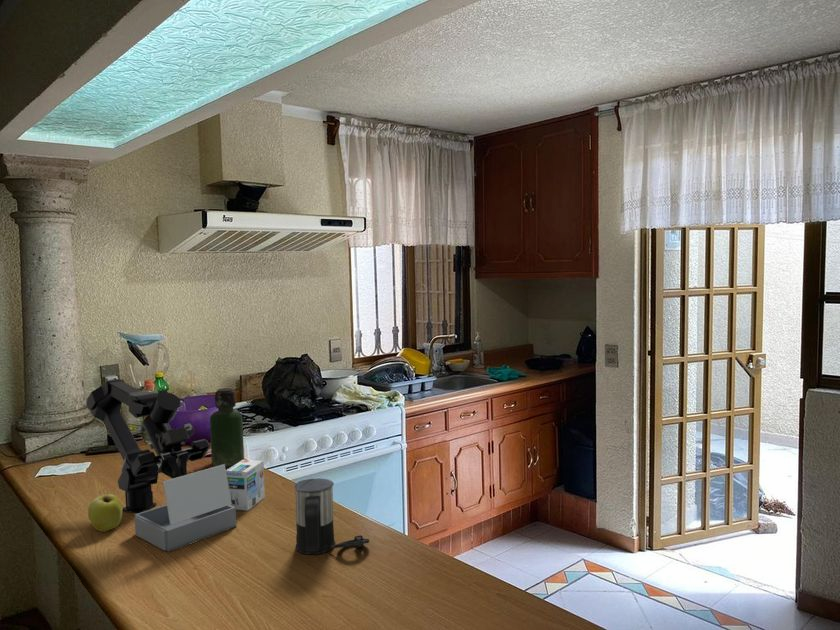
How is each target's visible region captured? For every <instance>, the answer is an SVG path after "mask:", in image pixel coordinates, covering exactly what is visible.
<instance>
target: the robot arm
mask: <svg viewBox="0 0 840 630" xmlns="http://www.w3.org/2000/svg"><path fill="white" fill-rule="evenodd" d="M85 402H86V408H87V409H88V411H90V413H91V414H92V416H93V418H96V419H97V420H99V421H101V422H103V423H104V425H105V427H106V429H107V431H108V433H109V434H110V437H111V439H112V440H113V442H114V444H115V446H116V448H117V450H118V453H119V454H120V457H121V458H122V459H123V462H122V467H121V474H120V475H119V478H118V479H117V485H118V489H120V490H122V491H124V494H125V495H124V496H125V506H124V507H122V508H123V512H127V513H128V512H130V513H134V514H138V513H141V512H144V511H148V510H150V509H152V508H154V507H156V506H157V503H156V502H154V493H153V491H152V490H153V489H152V485H156V484H157V483H158V480H159V479H158V478H159V474H160V473H162V474H164V475H165V476H167V477H169V478H170V479H173V478H177V477H181V476H184V475H188V470H187V469H188V467H187V466H188V465H187V463H188V461H190V462H196V461H199V460H202V459H204V458H205V456H206V455H207V452H208V451H209V449H211V444H210V443H209V441H208V440H207V439H205V438H203V439H198V440H195V441H194V440H193V441H191V443H190V445H189V447H187V448H183V449H182V447H184V446H185V445H186V442H185V441H187V440H190V437H192V436H194V435H195V430H194V427H193V425H192V423H190V422H189V423H185V424H183V425H182V426H180V427H177V428H172V427H171V425H170V422H172V421H173V419H174V417H175V416H176V414H177V412H178V410H179V408H180V406H181V403H182V402H181V398H180V397H178V395H176V394H174V393H172V392H169V391H168V390H167V389H163V390H159V391H158V392H155V391H142V390H140V389H138V388H135V387H134V386H132V385H130V384H129V383H126V382H125V380H124V379H121V378H116V379H110V380H105V381H103V383H102V384H101V385H100V386H99V387H97V388H95V389H94V390H93V391H91V392H90V394H89V395H88V396H87V398H86V401H85ZM123 404H124V405H126V406H127V407H128V413H130V414H131V416H133V417H134V418H135V419H140V418H144V417H145V418H144V419H143V421H142V425H141V428H140V429H141V430H140V431H141V432H142V433H144V432H146V435H147V436H148V439H149V442H150V445H149V447H150V449H151V450H153V449H154V452H153V451H151V450H149V449H143V450H142V449H141V447H140V446H139V444H138V442H137V440H136V438H135V437H134V435H133V433H132V431H131V429H130V427H129V426H128V424H127V421H126V420H125V418H124V416H123V415H122V413H121V409H122V405H123ZM155 453H156V454H155Z"/></svg>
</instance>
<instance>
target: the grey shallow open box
mask: <svg viewBox="0 0 840 630" xmlns="http://www.w3.org/2000/svg"><path fill="white" fill-rule="evenodd" d="M234 527H235V528H237V510H236V507H234V506H231V505H227V506H225V507H222V508H219V509H216V510H213V511H210V512H207V513H204V514H201V515H198V516H195V517H192V518H189V519H186V520H184V521H181V522H178V523H175V524H172V525H170V520H169V514H168V508H167V504H164V505H161V506H158V507H155V508H154V507H153V508H150V509H147V510H145V511H143V512H141V513H134V531H135V533H134V534H135V536H137V537H139V538H141V539H142V540H144V541H146V542H148V543H150V544H151V545H153V546H155V547H156V548H159V549H161V550H162V551H164V552H165V551H166V552H167V553H170V552H173V551H175V549H176V550H178V549H177V548H179V549H181V548H183V547H182V546H184V547H186V546H185V545H187V546H189V545H191V544H190V543H192V544H194V543H193V542H195V541H197V542H199V541H198V540H200V541H202V540H201V539H203V538H205V539H207V538H206V537H208V538H210V537H209V536H211V537H213V536H215V535H214V534H216V535H218V534H217V533H219V532H221V533H223V532H222V531H224V532H226V531H225V530H227V529H229V530H231V528H232V529H234ZM227 531H228V530H227ZM219 534H220V533H219ZM212 535H213V536H212ZM203 540H204V539H203ZM195 543H196V542H195ZM188 544H189V545H188ZM180 547H181V548H180Z"/></svg>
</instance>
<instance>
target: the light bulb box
mask: <svg viewBox="0 0 840 630" xmlns="http://www.w3.org/2000/svg"><path fill="white" fill-rule="evenodd" d="M264 465H265V464H264V460H251V459H244V460H242V461H240V462H238V463H237V464H235V465H234V466H232V467H228V468H227V469H226V474H227V480H228V486H229V492H230V497H231V503H232V504H230V505H231V506H234V507H236V511H249V510H251V509H252V508H253V507H255V506H256V505H257V504H258V503H260V502H261V501H262V500H263V499H265V497H266V496H265V470H264V469H265V468H264V467H265V466H264Z"/></svg>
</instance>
